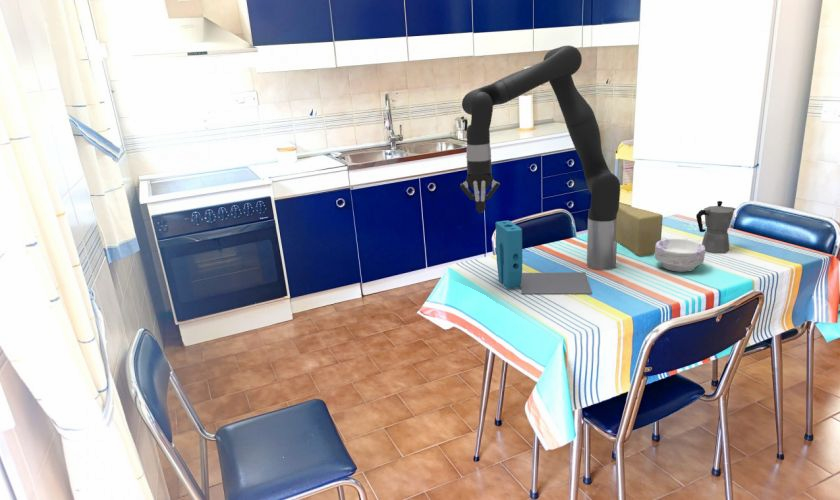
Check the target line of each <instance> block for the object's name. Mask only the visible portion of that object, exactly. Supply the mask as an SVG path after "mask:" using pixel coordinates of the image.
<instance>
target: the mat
mask: <svg viewBox="0 0 840 500" xmlns="http://www.w3.org/2000/svg"><path fill="white" fill-rule="evenodd" d="M520 290H521V291H520V294H521V295H593V291H592V289H591V286H590V283H589V280H588V276H587V273H586V272H583V271H581V272H580V271H577V272H576V271H575V272H570V271H569V272H568V271H567V272H522V278H521V287H520Z"/></svg>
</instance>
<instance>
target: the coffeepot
mask: <svg viewBox="0 0 840 500" xmlns="http://www.w3.org/2000/svg"><path fill="white" fill-rule="evenodd" d="M716 204H717V205H710V206H707V207H705V208H703V209H701V210H699V211H698V212H697V213H696V216H695V217H696V222H697V225H698V226H697V227H698V230H699V233H704V235H703V238H702V243H701V244H702V245H704V246H705V253H709V254H725V253H728V252H729V251H730V239H729V238H730V237H729V233H728V230H729V228H730V227H731V224H732V220H733V216H734V214H735V213H734V212H735V210H736V208H735V207H731V206H722V205H723V201H721V200H718V201H717V203H716ZM702 216H704V223H705V224H703V222H702ZM703 225H705V228H703Z"/></svg>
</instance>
